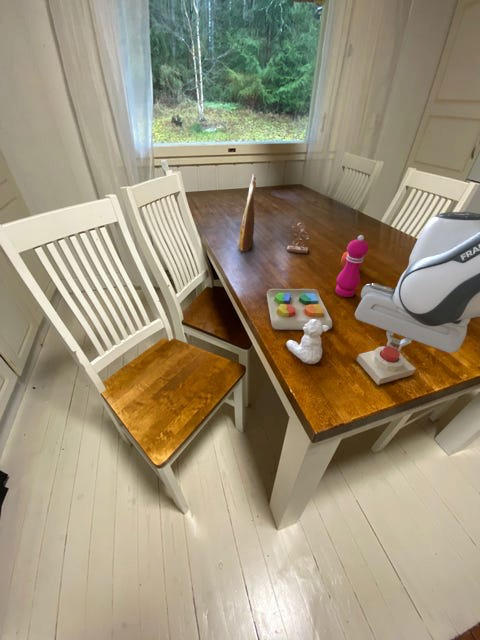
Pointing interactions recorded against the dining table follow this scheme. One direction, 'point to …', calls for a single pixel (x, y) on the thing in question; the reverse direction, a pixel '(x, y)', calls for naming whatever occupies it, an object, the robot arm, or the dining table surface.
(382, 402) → the dining table surface
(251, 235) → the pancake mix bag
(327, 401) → the dining table surface
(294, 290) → the puzzle board
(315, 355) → the sitting furry creature
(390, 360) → the button
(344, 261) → the apple
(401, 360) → the button block
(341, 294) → the pepper mill
